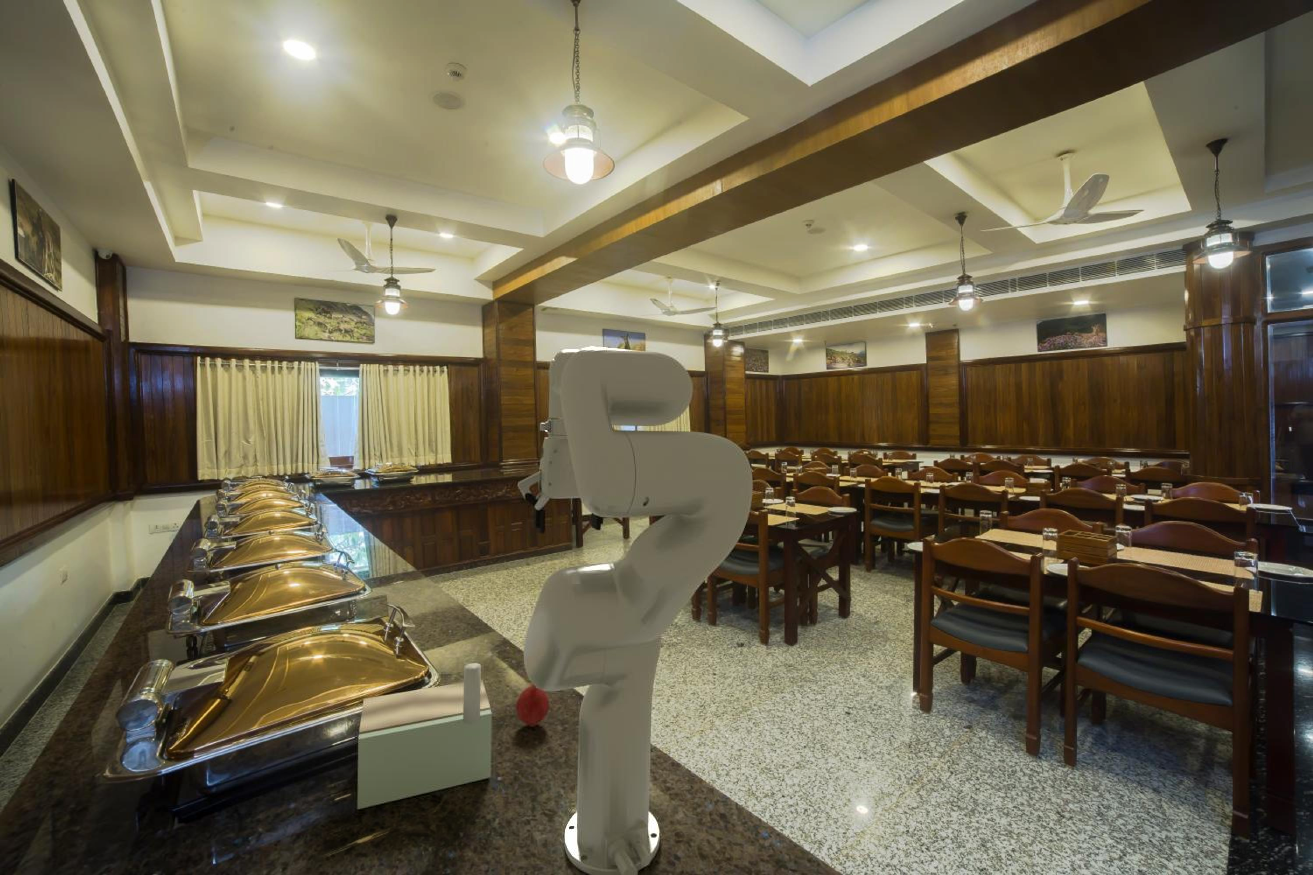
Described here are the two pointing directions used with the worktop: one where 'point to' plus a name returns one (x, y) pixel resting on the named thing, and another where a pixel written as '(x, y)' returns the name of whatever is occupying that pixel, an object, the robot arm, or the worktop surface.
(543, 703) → the onion
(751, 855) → the worktop surface
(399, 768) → the cupboard door
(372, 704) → the cupboard
